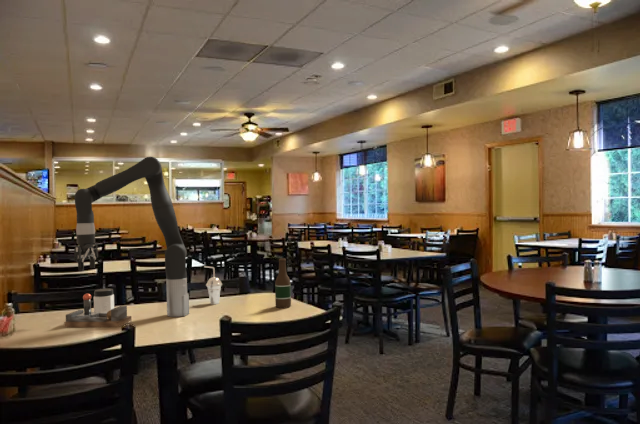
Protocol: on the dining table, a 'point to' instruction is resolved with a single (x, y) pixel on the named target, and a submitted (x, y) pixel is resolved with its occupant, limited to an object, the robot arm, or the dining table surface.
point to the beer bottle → (282, 286)
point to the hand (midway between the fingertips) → (86, 269)
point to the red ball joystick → (88, 307)
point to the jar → (103, 300)
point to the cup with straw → (214, 288)
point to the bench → (98, 319)
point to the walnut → (109, 314)
